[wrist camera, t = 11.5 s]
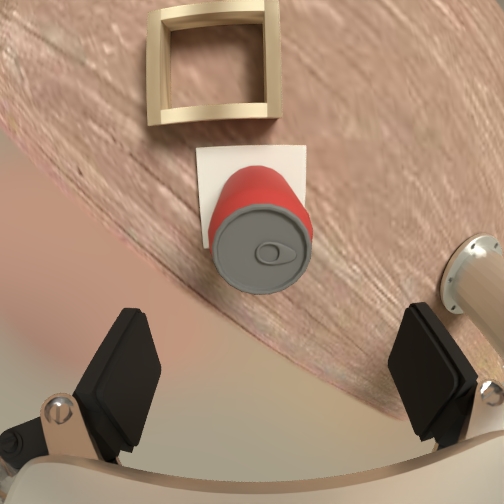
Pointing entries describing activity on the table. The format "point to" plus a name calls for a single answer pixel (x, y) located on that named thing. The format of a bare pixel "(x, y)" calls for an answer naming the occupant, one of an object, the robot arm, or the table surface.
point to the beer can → (259, 232)
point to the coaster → (240, 156)
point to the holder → (201, 15)
